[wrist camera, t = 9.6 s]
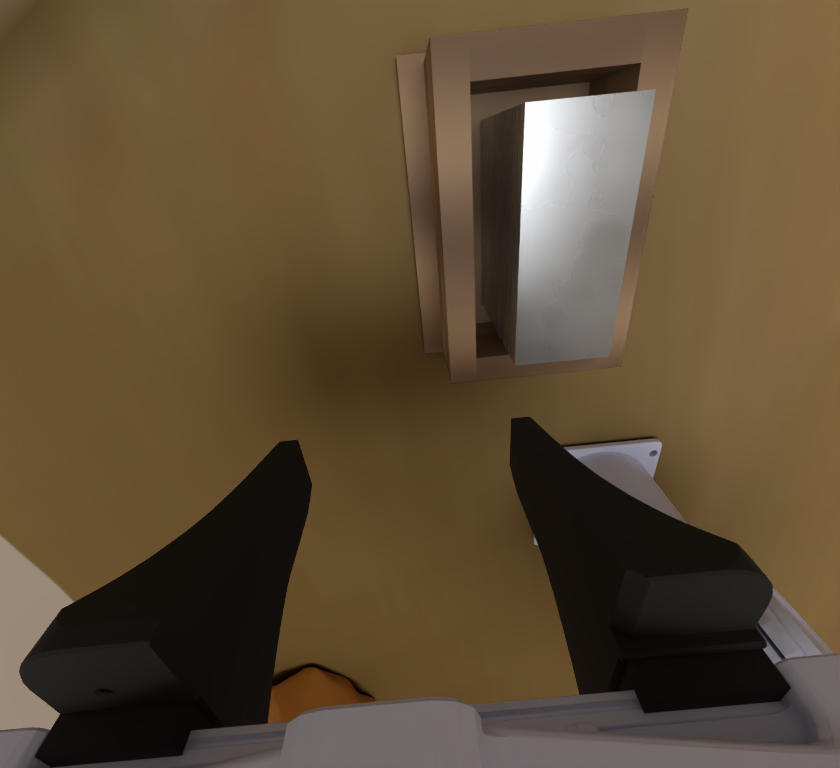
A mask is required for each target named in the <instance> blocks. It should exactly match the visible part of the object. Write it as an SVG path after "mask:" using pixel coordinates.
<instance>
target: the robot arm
mask: <svg viewBox="0 0 840 768" xmlns="http://www.w3.org/2000/svg"><path fill="white" fill-rule="evenodd" d="M661 448H662V443H661V442H660V441H659V440H658V439H655V438H653V439H643V440H633V441H623V442H612V443H602V444H592V445H582V446H572V447H562V446H561V445H560V444H559V443H558V442H556V441H555V440H554V439H553V438H552V437H551V436H550V435H549V434H548V433H547V432H546V431H544V430H543V429H542V428H541V427H540V426H539V425H538V424H537V423H536V422H535V421H534V420H533V419H532V418H530V417H522V418H512V419H511V443H510V467H511V471H512V475H513V479H514V483H515V487H516V490H517V493H518V496H519V499H520V501H521V504H522V506H523V509H524V511H525V514H526V516H527V519H528V521H529V524H530V526H531V529H532V531H533V541H534V544H535V545H537V546H539V548H540V551H541V554H542V557H543V560H544V562H545V566H546V569H547V573H548V576H549V579H550V583H551V586H552V590H553V593H554V597H555V601H556V604H557V608H558V611H559V615H560V619H561V622H562V626H563V630H564V634H565V638H566V642H567V646H568V649H569V653H570V657H571V661H572V665H573V669H574V673H575V678H576V682H577V686H578V690H579V694H580V695H574V696H563V697H552V698H541V699H530V700H519V701H509V702H498V703H487V704H476V705H470V704H469V703H467V702H464V701H461V700H458V699H456V698H453V697H423V698H412V699H401V700H390V701H380V702H369V703H358V704H347V705H336V706H325V707H320V708H316V709H312V710H307V711H304V712H302V713H301V714H300V715H298V716H297V717H295V718H294V719H293V720H291V721H290V722H279V723H268V717H269V708H270V699H271V689H272V682H273V674H274V667H275V659H276V652H277V645H278V639H279V633H280V626H281V620H282V614H283V608H284V603H285V597H286V592H287V587H288V582H289V578H290V574H291V571H292V567H293V564H294V560H295V557H296V553H297V550H298V546H299V543H300V539H301V536H302V532H303V529H304V525H305V522H306V518H307V514H308V509H309V503H310V496H311V488H312V483H311V480H310V476H309V473H308V470H307V467H306V464H305V461H304V457H303V454H302V451H301V448H300V445H299V442H298V440H292V441H282V442H279V443H278V444H277V445H276V446H275V447H274V448H273V449H272V450H271V451H270V453H269V454H268V455H267V456H266V457H265V458H264V459H263V460H262V461H261V462H260V463H259V464H258V465H257V466H256V468H255V469H254V470H253V471H252V472H251V473H250V474H249V475H248V476H247V477H246V478H245V479H244V480H243V481H242V482H241V483H240V484H239V485H238V486H237V487H236V488H235V489H234V490H233V491H232V492H231V493H230V494H229V495H228V496H227V497H226V498H224V499H223V500H222V501H221V502H220V503H219V504H218V505H217V506H216V507H215V508H214V509H213V510H212V511H210V512H209V513H208V514H207V515H206V516H205V517H203V518H202V519H201V520H200V521H199V522H197V523H196V524H195V525H194V526H192V527H191V528H190V529H189V530H187V531H186V532H185V533H183V534H182V535H181V536H179V537H178V538H177V539H175V540H174V541H172V542H171V543H170V544H168V545H167V546H165V547H164V548H163V549H161V550H160V551H159V552H157V553H156V554H154V555H153V556H151V557H150V558H148V559H147V560H145V561H144V562H142V563H141V564H139V565H138V566H136V567H135V568H133V569H131V570H130V571H128V572H126V573H125V574H123V575H122V576H120V577H118V578H117V579H115V580H113V581H112V582H110V583H108V584H106V585H105V586H103V587H101V588H99V589H97V590H96V591H94V592H92V593H90V594H88V595H87V596H85V597H83V598H81V599H79V600H78V601H76V602H74V603H72V604H70V605H68V606H66V607H64V608H63V609H61V611H60V612H59V613H58V615H57V616H56V617H55V619H54V620H53V621H52V623H51V624H50V625H49V627H48V628H47V630H46V631H45V632H44V634H43V635H42V636H41V638H40V639H39V641H38V642H37V643H36V644H35V646H34V647H33V648H32V650H31V651H30V653H29V654H28V655H27V656H26V658H25V659H24V661H23V662H22V663H21V666H20V670H19V672H20V676H21V679H22V681H23V683H24V684H25V685H26V686H27V687H28V688H29V689H30V690H31V691H32V692H33V693H35V694H36V695H37V696H38V697H40V698H41V699H42V700H43V701H45V702H46V703H47V704H49V705H50V706H51V707H52V708H54V709H55V710H56V711H57V712H59V713H60V715H59V717H58V719H57V720H56V722H55V724H54V725H53V727H52V729H51V730H48V729H43V728H21V729H10V730H0V768H840V655H839V654H836V653H833V652H832V651H831V649H830V648H829V647H828V646H827V645H826V644H825V643H824V642H823V640H822V639H821V638H820V637H819V636H818V635H817V634H816V633H815V631H814V630H813V629H812V628H811V627H810V626H809V625H808V624H807V623H806V621H805V620H804V619H803V618H802V617H801V616H800V615H799V614H798V613H797V612H796V611H795V610H794V609H793V607H792V606H791V605H790V604H789V603H788V602H787V601H786V600H785V599H784V598H783V597H782V596H781V595H780V594H779V593H778V592H777V591H776V590H775V589H774V588H773V586H772V583H771V582H770V581H769V579H768V578H767V577H766V575H765V574H764V573H763V572H762V571H761V569H760V568H759V567H758V566H757V565H756V563H755V562H754V561H753V560H752V559H751V558H750V557H749V556H748V554H747V553H746V552H745V551H744V550H743V549H742V548H741V547H740V546H739V545H738V544H737V543H734V542H732V541H729V540H726V539H724V538H721V537H719V536H716V535H714V534H711V533H708V532H706V531H703V530H701V529H698V528H696V527H693V526H691V525H689V524H687V522H686V521H685V520H684V518H683V517H682V516H681V515H680V513H679V512H678V511H677V509H676V508H675V507H674V505H673V504H672V503H671V502H670V500H669V499H668V498H667V496H666V495H665V494H664V492H663V491H662V490H661V489H660V487H659V486H658V485H657V483H656V482H655V481H654V479H653V477H654V473H655V470H656V466H657V463H658V459H659V456H660V452H661ZM651 451H652V452H651Z"/></svg>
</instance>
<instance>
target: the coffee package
mask: <svg viewBox="0 0 840 768" xmlns="http://www.w3.org/2000/svg"><path fill="white" fill-rule="evenodd" d="M369 702H375V699H374V698H372V697H369V696H367V695H362V694H360V693H358V692H357V691H356V690H355V688H354V687H353V685H352V684H351V682H350V681H349V680H348V679H347V678H345V677H342V676H340V675H336V674H333V673H330V672H327V671H323V670H320V669H318V668H316V667H308V668H304V669H302V670H301V671H300V672H298V673H297V674H295V675H293V676H291V677H289V678H288V679H286V680H284V681H283V682H281V683H280V684H278V685H274V686H272V689H271V699H270V708H269V717H268V723H279V722H290V721H291V720H293V719H294V718H295V717H297V716H298V715H300V714H301V713H302V712H304V711H307V710H312V709H316V708H320V707H325V706H336V705H347V704H358V703H369Z"/></svg>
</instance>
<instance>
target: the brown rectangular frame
mask: <svg viewBox="0 0 840 768" xmlns="http://www.w3.org/2000/svg"><path fill="white" fill-rule="evenodd" d="M687 13H688V8H687V9H678V10H669V11H660V12H651V13H642V14H633V15H625V16H616V17H607V18H598V19H589V20H580V21H571V22H562V23H553V24H544V25H535V26H526V27H517V28H508V29H499V30H490V31H481V32H472V33H463V34H454V35H445V36H436V37H430V39H429V43H428V47H427V51H426V52H425V53H416V54H407V55H398V56H396V61H397V71H398V81H399V92H400V102H401V113H402V123H403V133H404V144H405V154H406V164H407V175H408V185H409V195H410V206H411V216H412V226H413V237H414V247H415V258H416V268H417V278H418V289H419V299H420V309H421V320H422V330H423V340H424V351H425V354H430V353H439V352H444V353H445V357H446V362H447V367H448V371H449V376H450V380H451V384H454V383H464V382H474V381H484V380H494V379H503V378H513V377H523V376H533V375H543V374H553V373H563V372H573V371H583V370H592V369H602V368H612V367H621V364H622V359H623V353H624V348H625V343H626V337H627V332H628V327H629V322H630V316H631V311H632V306H633V300H634V295H635V290H636V284H637V279H638V274H639V268H640V263H641V258H642V252H643V247H644V242H645V236H646V231H647V226H648V220H649V215H650V210H651V204H652V199H653V194H654V189H655V183H656V178H657V173H658V167H659V162H660V157H661V151H662V146H663V141H664V135H665V130H666V125H667V119H668V114H669V109H670V103H671V98H672V93H673V87H674V82H675V77H676V72H677V66H678V61H679V56H680V50H681V45H682V40H683V34H684V29H685V24H686V18H687ZM653 89H656V93H655V99H654V104H653V110H652V116H651V122H650V127H649V133H648V139H647V144H646V150H645V156H644V161H643V167H642V173H641V179H640V184H639V190H638V196H637V201H636V207H635V213H634V218H633V224H632V230H631V236H630V241H629V247H628V253H627V258H626V264H625V270H624V276H623V281H622V287H621V293H620V298H619V304H618V310H617V315H616V321H615V327H614V333H613V338H612V344H611V350H610V355H609V357H601V358H590V359H580V360H569V361H559V362H548V363H538V364H528V365H517V366H515V365H514V363H513V361H512V360H511V358H510V356H509V354H508V352H507V350H506V348H505V346H504V344H503V343H502V341H501V339H500V337H499V335H498V333H497V331H496V329H495V328H494V326H493V324H492V322H491V320H490V318H489V316H488V314H487V312H486V311H485V309H484V307H483V305H482V286H481V153H480V120H482V119H485V118H487V117H490V116H492V115H495V114H497V113H500V112H502V111H505V110H507V109H510V108H513V107H515V106H518V105H520V104H523V103H525V102H534V101H544V100H554V99H564V98H574V97H584V96H594V95H603V94H613V93H623V92H633V91H643V90H653Z"/></svg>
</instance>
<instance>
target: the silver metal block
mask: <svg viewBox="0 0 840 768" xmlns="http://www.w3.org/2000/svg"><path fill="white" fill-rule="evenodd" d="M655 93H656V89H653V90H643V91H633V92H623V93H613V94H603V95H594V96H584V97H574V98H564V99H554V100H544V101H534V102H525V103H523V104H520V105H518V106H515V107H513V108H510V109H507V110H505V111H502V112H500V113H497V114H495V115H492V116H490V117H487V118H485V119H482V120H480V153H481V286H482V305H483V307H484V309H485V311H486V312H487V314H488V316H489V318H490V320H491V322H492V324H493V326H494V328H495V329H496V331H497V333H498V335H499V337H500V339H501V341H502V343H503V344H504V346H505V348H506V350H507V352H508V354H509V356H510V358H511V360H512V361H513V363H514V365H515V366H517V365H528V364H538V363H548V362H559V361H569V360H580V359H590V358H601V357H609V355H610V350H611V344H612V338H613V333H614V327H615V321H616V315H617V310H618V304H619V298H620V293H621V287H622V281H623V276H624V270H625V264H626V258H627V253H628V247H629V241H630V236H631V230H632V224H633V218H634V213H635V207H636V201H637V196H638V190H639V184H640V179H641V173H642V167H643V161H644V156H645V150H646V144H647V139H648V133H649V127H650V122H651V116H652V110H653V104H654V99H655Z"/></svg>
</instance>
